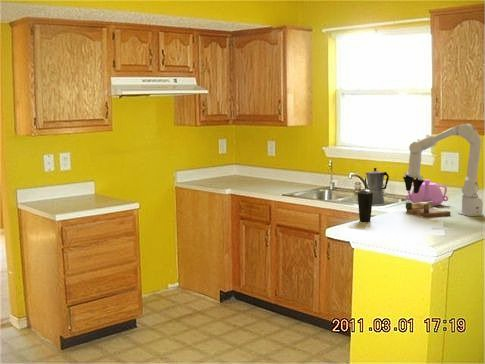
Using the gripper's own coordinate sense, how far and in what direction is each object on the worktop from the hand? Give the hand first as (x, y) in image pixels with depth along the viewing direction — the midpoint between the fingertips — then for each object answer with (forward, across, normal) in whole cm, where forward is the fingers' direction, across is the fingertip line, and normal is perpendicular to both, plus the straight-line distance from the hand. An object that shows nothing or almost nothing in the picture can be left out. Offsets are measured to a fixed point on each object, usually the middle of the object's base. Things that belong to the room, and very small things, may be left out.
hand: (412, 191), depth 304 cm
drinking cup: (+10, +22, -36) cm, 43 cm away
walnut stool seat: (+9, +13, +2) cm, 16 cm away
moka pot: (+11, -23, -7) cm, 27 cm away
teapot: (+10, -10, +16) cm, 21 cm away
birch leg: (+7, +7, +1) cm, 10 cm away
